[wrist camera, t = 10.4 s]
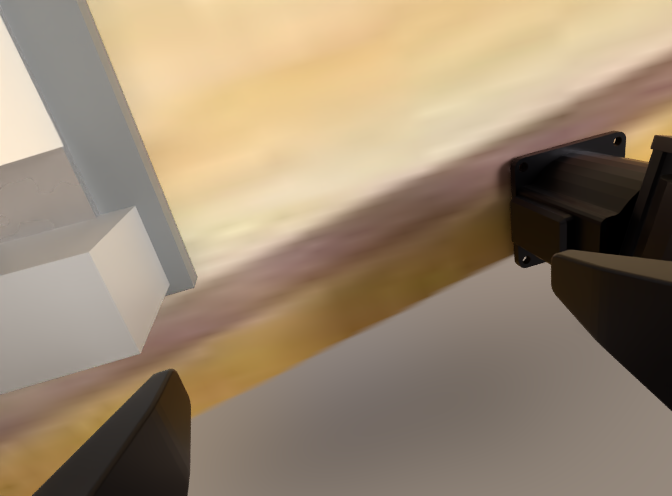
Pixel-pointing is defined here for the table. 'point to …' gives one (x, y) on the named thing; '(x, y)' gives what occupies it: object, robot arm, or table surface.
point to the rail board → (79, 212)
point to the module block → (21, 109)
